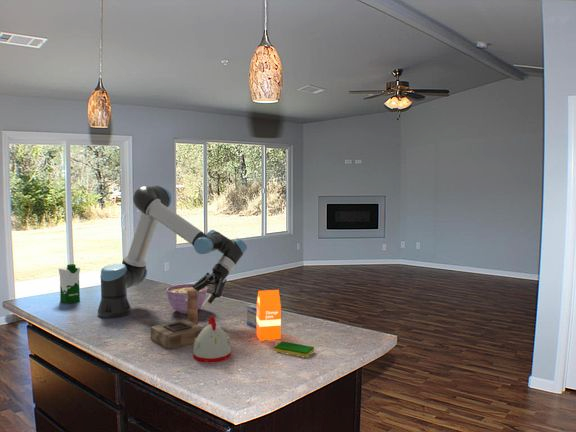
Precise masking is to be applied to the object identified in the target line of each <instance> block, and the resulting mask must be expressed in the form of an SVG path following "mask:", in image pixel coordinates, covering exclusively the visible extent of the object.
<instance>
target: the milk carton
mask: <svg viewBox="0 0 576 432" xmlns="http://www.w3.org/2000/svg"><path fill="white" fill-rule="evenodd" d="M80 270H81V268H80V267H76V264H75V263H70V264H67V265H66V267H60V268H58V274H59V289H60V294H59V295H60V298H59V301H60V303H63V304H67V305H69V304H73V303H77V302H80V301H81V294H80V292H81V291H80V272H81V271H80Z"/></svg>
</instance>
